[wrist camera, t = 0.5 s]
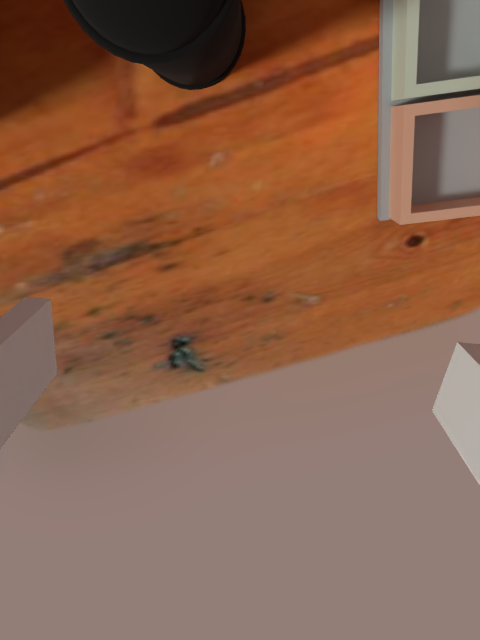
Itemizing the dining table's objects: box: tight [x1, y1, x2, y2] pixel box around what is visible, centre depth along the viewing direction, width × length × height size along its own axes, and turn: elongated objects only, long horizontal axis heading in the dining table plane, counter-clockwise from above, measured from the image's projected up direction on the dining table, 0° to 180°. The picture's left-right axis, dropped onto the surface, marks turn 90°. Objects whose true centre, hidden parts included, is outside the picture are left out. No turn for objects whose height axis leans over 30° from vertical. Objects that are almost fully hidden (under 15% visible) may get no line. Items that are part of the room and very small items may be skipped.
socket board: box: [377, 0, 480, 225], centre depth 32 cm, size 18×10×4 cm, turn 7°
